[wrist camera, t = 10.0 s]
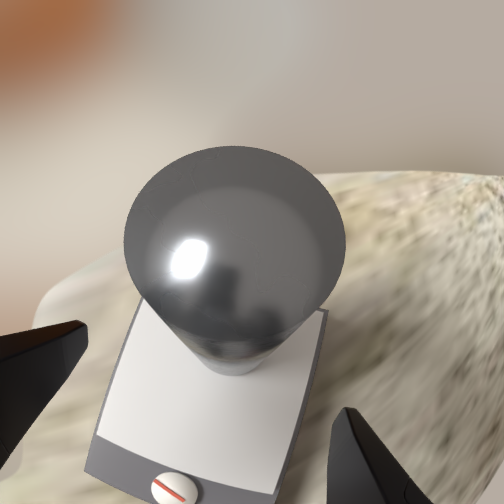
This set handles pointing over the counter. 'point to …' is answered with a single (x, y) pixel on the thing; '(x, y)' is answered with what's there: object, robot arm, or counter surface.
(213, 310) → the steel weight
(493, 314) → the counter surface
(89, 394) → the counter surface
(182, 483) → the kitchen scale
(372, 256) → the counter surface
